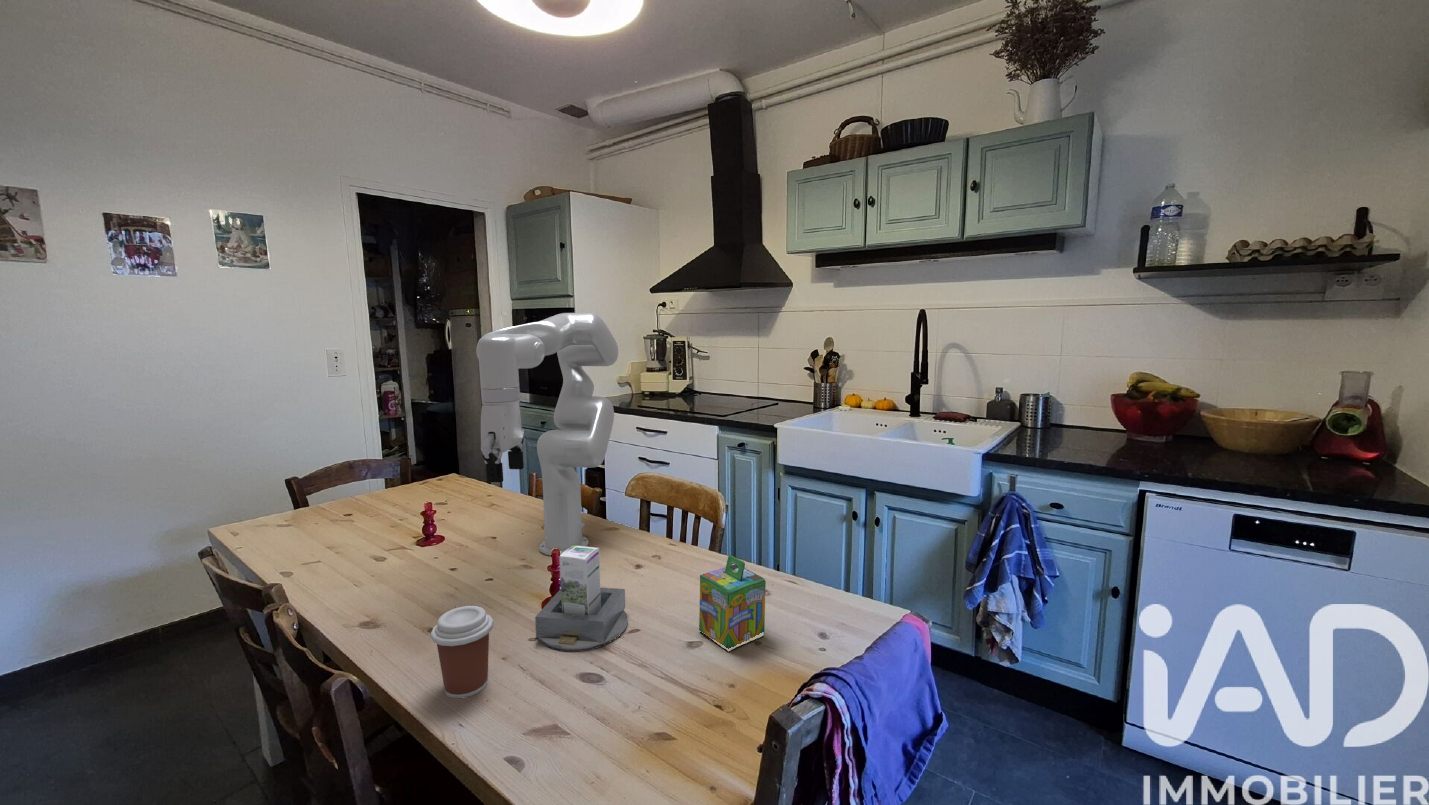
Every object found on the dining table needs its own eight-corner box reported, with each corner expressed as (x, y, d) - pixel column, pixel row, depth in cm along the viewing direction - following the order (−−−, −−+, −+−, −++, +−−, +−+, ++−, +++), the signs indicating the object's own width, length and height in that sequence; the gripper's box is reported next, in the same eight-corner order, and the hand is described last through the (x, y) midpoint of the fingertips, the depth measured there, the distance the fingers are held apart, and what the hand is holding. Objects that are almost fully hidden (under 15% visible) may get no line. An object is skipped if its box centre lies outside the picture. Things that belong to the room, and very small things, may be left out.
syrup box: (602, 616, 111) (600, 546, 109) (588, 632, 105) (585, 558, 103) (576, 613, 112) (573, 543, 110) (561, 628, 106) (558, 555, 105)
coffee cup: (486, 702, 87) (481, 629, 85) (425, 706, 86) (419, 632, 84) (503, 667, 96) (499, 601, 94) (448, 670, 95) (443, 603, 93)
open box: (559, 603, 118) (558, 580, 118) (637, 608, 116) (637, 585, 115) (521, 647, 102) (519, 621, 101) (611, 654, 99) (610, 628, 99)
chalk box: (698, 632, 107) (697, 558, 105) (735, 617, 112) (735, 546, 110) (728, 654, 99) (728, 574, 97) (766, 637, 105) (767, 561, 103)
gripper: (502, 390, 126) (507, 464, 128) (461, 402, 109) (468, 487, 111) (535, 390, 125) (539, 464, 128) (498, 402, 108) (504, 487, 111)
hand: (506, 475), depth 119 cm, fingers open, 9 cm apart
